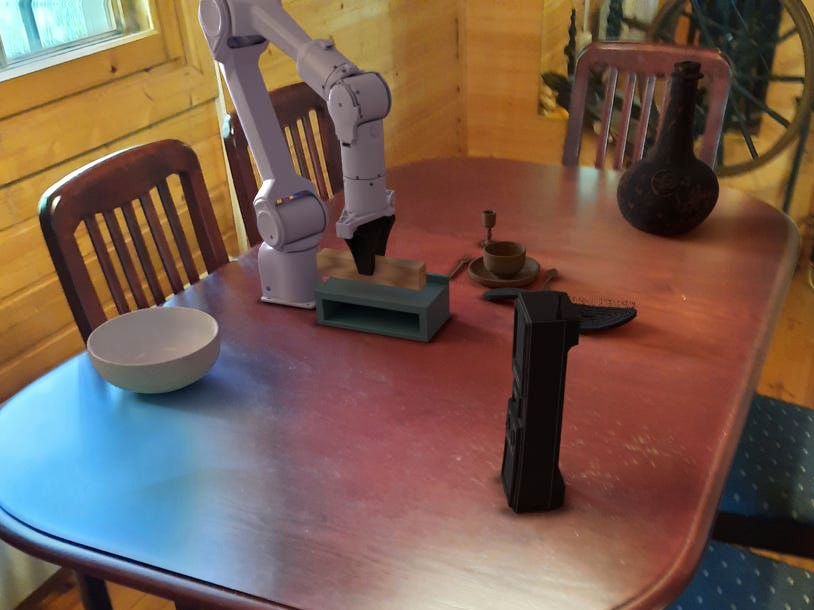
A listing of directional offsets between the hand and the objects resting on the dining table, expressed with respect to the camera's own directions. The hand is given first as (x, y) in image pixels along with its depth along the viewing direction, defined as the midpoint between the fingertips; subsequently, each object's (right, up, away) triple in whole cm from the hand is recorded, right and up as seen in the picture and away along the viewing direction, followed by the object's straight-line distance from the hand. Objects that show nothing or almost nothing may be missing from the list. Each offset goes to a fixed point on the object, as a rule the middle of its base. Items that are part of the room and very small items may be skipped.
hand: (370, 270), depth 122 cm
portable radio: (+20, -31, -27) cm, 46 cm away
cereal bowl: (-28, -16, -5) cm, 33 cm away
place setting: (+22, +6, +23) cm, 33 cm away
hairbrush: (+28, -5, +8) cm, 29 cm away
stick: (0, -1, +1) cm, 1 cm away
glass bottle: (+52, +17, +37) cm, 65 cm away
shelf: (+1, -6, +8) cm, 10 cm away
